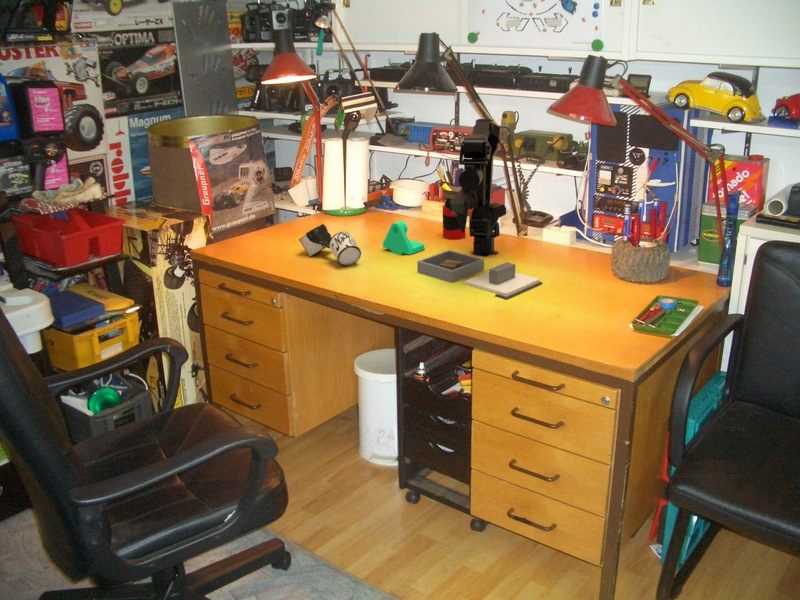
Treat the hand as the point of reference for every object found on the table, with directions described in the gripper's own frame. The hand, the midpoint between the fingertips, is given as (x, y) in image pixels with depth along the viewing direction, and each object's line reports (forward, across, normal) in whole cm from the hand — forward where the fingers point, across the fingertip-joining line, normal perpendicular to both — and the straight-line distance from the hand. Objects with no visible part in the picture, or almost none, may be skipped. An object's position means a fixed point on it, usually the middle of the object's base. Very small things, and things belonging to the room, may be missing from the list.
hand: (474, 235), depth 229 cm
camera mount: (+12, -32, +2) cm, 34 cm away
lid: (+12, +12, -2) cm, 17 cm away
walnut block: (+11, -6, -4) cm, 13 cm away
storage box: (+12, -6, -4) cm, 14 cm away
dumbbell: (+12, -43, -19) cm, 49 cm away
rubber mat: (+12, +12, -2) cm, 17 cm away
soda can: (+12, -30, +24) cm, 40 cm away
